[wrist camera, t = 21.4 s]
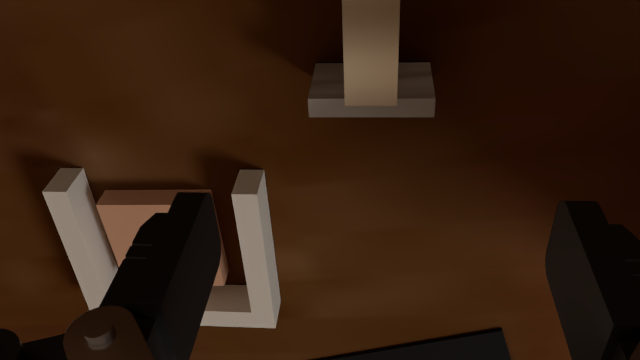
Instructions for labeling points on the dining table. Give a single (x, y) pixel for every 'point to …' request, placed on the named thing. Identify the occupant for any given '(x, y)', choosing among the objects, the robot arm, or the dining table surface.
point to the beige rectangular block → (371, 69)
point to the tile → (141, 219)
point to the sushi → (441, 349)
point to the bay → (224, 301)
